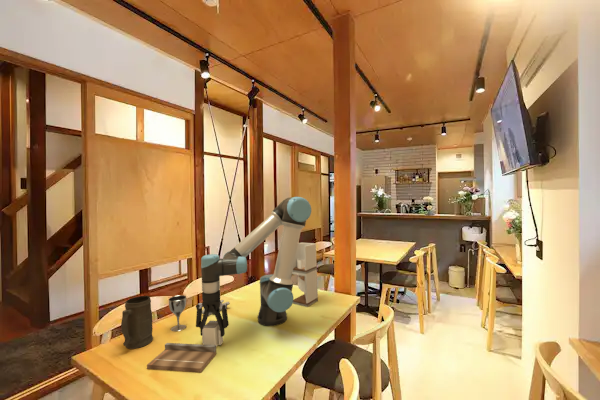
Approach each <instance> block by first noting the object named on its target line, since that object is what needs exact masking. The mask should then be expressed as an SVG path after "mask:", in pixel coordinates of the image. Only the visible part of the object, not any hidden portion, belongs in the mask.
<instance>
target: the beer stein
mask: <svg viewBox="0 0 600 400" xmlns="http://www.w3.org/2000/svg"><path fill="white" fill-rule="evenodd" d="M151 303H152V300H151V297H150V295H149V296H148V295H139V296H134V297H132V298H128V299H127V300H126V301H125V303H124V304H125V305H124V308H125V309H124V310H122V318H121V323H120V329H121V333H122V335H123V338H124V341H123V346H124V347H125V348H127V349H130V350H133V349H134V350H135V349H139V348H143V347H145V346H147V345H149V344H151V342H152V341H154V337H153V328H154V327H153V314H152V313H153V311H152V305H151Z"/></svg>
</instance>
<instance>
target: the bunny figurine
mask: <svg viewBox="0 0 600 400" xmlns="http://www.w3.org/2000/svg"><path fill="white" fill-rule="evenodd" d="M220 301H221V303H222V304H225V303H227V306H229V305H230V304H231V303H230V301H225V300H224V299H220ZM224 301H225V302H224ZM219 309H220V312H222V309H221V306H220V307H219ZM204 310H205V309H204V308H202V315H204ZM212 315H213V313H212V312H210V313H209V314H208V317H210V316H212Z"/></svg>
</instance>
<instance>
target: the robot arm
mask: <svg viewBox="0 0 600 400" xmlns="http://www.w3.org/2000/svg"><path fill="white" fill-rule="evenodd" d="M311 215H312V205H311V203H310V202H309V201H308V199H306V198H304V197H301V196H294V197H292V196H291V197H287V198H285V199H283V200H282V201H281V202H280V203H279V204H278V205H277V206H276V207H275V208H274V209H273V210H272V211H271V213H270V215H269V216H267V218H266V219H264V220H263V221H262V222H261V223H259V225H258V226H256V228H254V229H253V230H252V231H251V232H250V233H249V234H248V235H246V237H244V238H243V239H242V240H241V241H239V243H238V244H236V245H235V246H234V247H233V248H232V249H231V250H229V251H227V252H225V253H224V255H223V256H222V258H220V255H219V254H213V253H212V254H210V253H209V254H205V255H203V256H202V257H201V259H200V263H201V265H200V268H201V269H200V270H201V272H200V273H201V292H202V293H201V297H202V298H201V300H202V302H199V303H197V304H196V306H195V308H196V316H195V317H196V319H195V327H196V328H199V329H200V336H201V337H202V343H201V344H202V345H204V326H205V325H206V324H207V320H208V317H209V315H208V314H209V313H210V312H212V314H213V315H214V316H215V319H216V321H217V322H218V325H219V327H220V329H219V330H218V336H219V344H218V346H221V345H222V344H223V343H224V336H225V334H226V329H227V328H228V326H229V325H230V323H229V316H228V305H227V303H225V302H224V303H225V304H223V303H221V301H220V300H221V290H220V289H221V282H220V281H221V280H220V279H221V278H220V277H223V276H230V275H233V276H234V275H241V274H245V273H247V271H248V261H247V257H248V256H249V255H250V254H251V253H252V252H254V250H255V249H257V247H259V245H261V244H262V243H263V242H264V241H265V240H266V239H267V238H269V236H271V235H272V234H273V233H274V232H275V231H276V230H278V228H279V227H280V226H283V228H282V233H281V239H280V243H279V248H278V253H277V256H276V257H277V258H276V262H275V267H274V271H273V273H271V274H266V275H265V274H264V275H262V276H261V277H260V278H259V292H260V293H259V294H260V297H259V298H260V307H259V310H258V315H257V322H258V324H260V325H262V326H265V327H274V326H279V325H282V324H284V323H285V322H286V321H287V320H288V313H287V311H288V310H289V309H290V308H291V307H292V305H293V300H294V294H293V292H292V291H293V288H294V287H293V286H294V282H293V280H292V277H293V276H292V275H293V274H292V272H293V267H294V262H295V257H296V252H297V247H298V243H300V237H301V231H302V230H303V229H304V228H305V227H306V224H307V220H309V218H310V217H311ZM220 306H221V309H222V310H221V311H220V309H219V307H220ZM203 309H205V310H204V314H202V311H203Z"/></svg>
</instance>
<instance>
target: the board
mask: <svg viewBox="0 0 600 400" xmlns="http://www.w3.org/2000/svg"><path fill="white" fill-rule="evenodd" d="M216 354H217V347H216V345H204V344H198V343H197V344H196V343H193V344H192V343H180V342H178V343H177V342H166V343H165V344H164V350H162V351H161V352H160V353H159V354H158V355H157V356H155V357H154V358H153V359H152V360H151V361H150V362H148V363H147V364H146V369H147V370H160V371H173V372H189V373H199V374H200V373H202V372H203V371H204V370H205V368H206V367H208V365H209V364H210V362H211V361H212V360H213V359H214V357H215V356H216Z"/></svg>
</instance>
